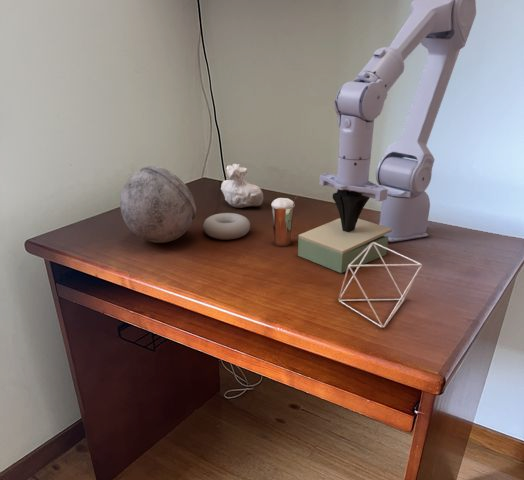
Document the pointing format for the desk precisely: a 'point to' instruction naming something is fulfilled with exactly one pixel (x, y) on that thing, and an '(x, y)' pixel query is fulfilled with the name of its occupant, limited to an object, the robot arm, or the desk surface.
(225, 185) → the white lumpy piece
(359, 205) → the robot arm
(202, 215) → the desk surface
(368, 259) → the lunchbox
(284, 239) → the milkshake
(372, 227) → the lunchbox lid
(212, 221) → the donut
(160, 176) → the decorative orb
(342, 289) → the geometric polyhedron
